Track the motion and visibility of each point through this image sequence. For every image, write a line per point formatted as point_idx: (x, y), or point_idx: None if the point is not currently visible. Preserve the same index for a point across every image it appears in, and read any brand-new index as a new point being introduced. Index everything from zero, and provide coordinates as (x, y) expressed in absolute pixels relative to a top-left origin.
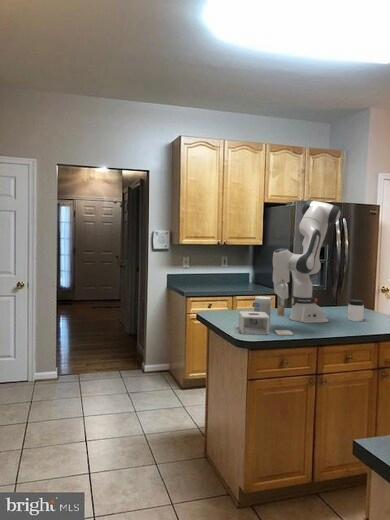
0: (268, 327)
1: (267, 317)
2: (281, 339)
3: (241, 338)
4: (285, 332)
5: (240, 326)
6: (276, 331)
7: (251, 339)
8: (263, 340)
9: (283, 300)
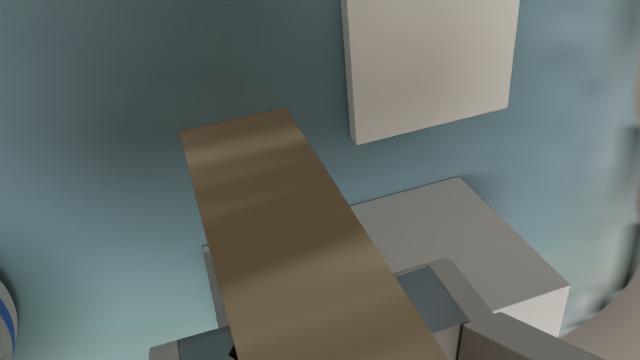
0: (493, 217)
1: (563, 300)
2: (628, 64)
3: (565, 314)
4: (458, 25)
5: None
6: (420, 121)
7: (594, 262)
8: (629, 192)
9: (552, 354)
